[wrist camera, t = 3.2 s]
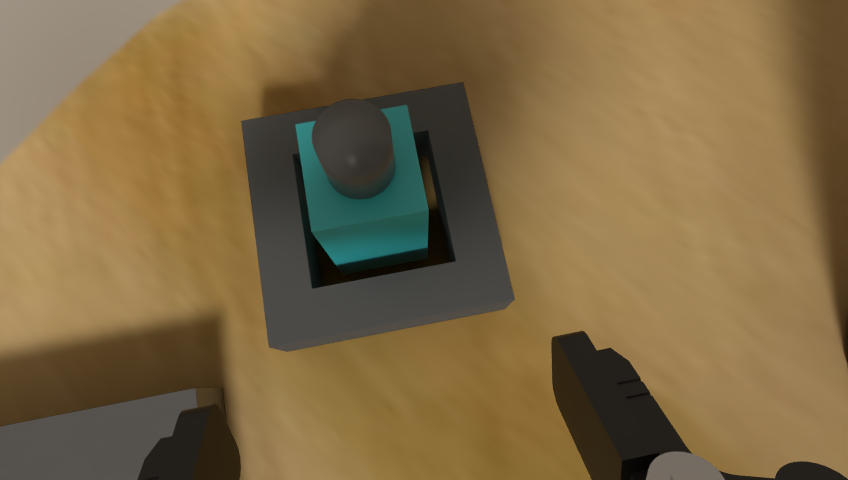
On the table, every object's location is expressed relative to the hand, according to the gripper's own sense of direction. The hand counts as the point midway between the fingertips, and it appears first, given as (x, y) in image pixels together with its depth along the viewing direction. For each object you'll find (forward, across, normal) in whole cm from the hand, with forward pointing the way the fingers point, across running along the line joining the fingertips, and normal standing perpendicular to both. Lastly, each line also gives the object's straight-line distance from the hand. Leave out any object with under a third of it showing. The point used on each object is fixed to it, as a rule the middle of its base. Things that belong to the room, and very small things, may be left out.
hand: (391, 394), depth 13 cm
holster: (+14, 0, +3) cm, 14 cm away
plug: (+14, 0, +3) cm, 14 cm away
